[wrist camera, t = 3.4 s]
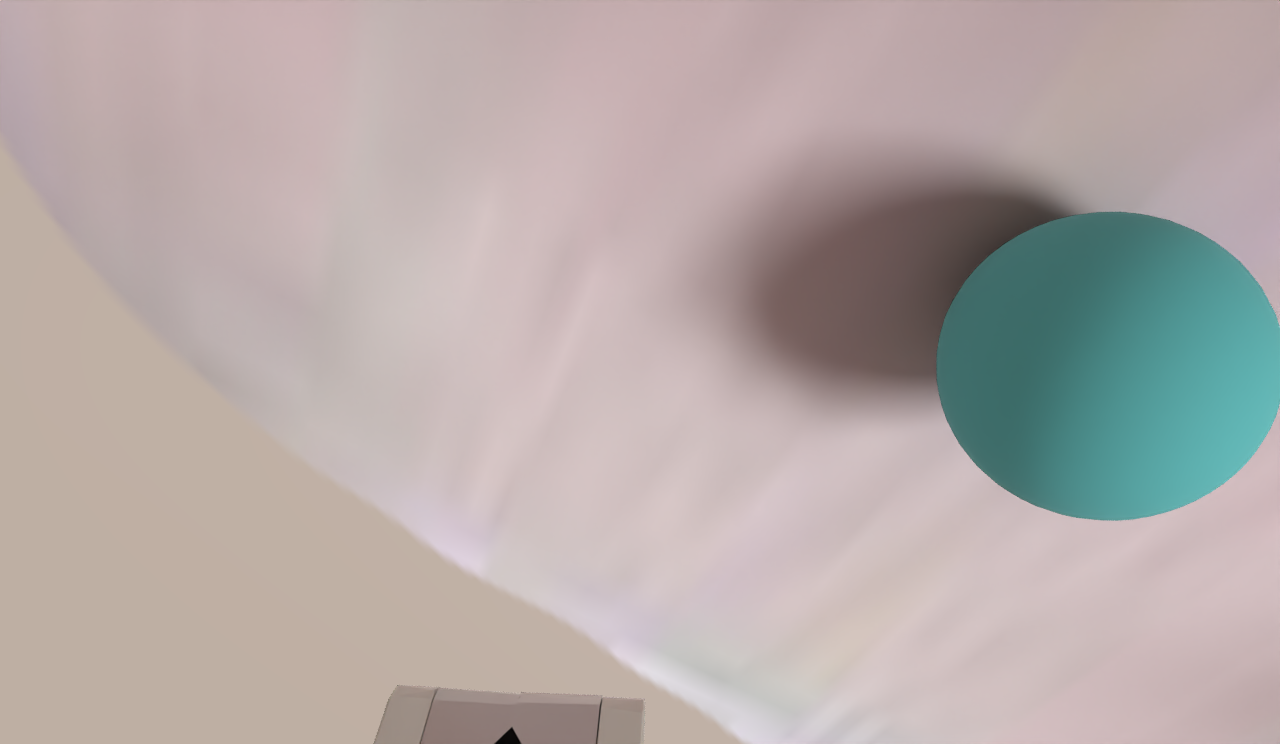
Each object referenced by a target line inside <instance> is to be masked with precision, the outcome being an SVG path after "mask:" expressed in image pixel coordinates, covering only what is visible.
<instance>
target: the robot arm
mask: <svg viewBox="0 0 1280 744" xmlns="http://www.w3.org/2000/svg"><path fill="white" fill-rule="evenodd" d="M644 722H645V699H641V698H614V697H603V698H602V696H598V695H575V694H550V693H524V692H521V693H507V692H492V691H477V690H462V689H448V688H440V687H425V686H405V685H397V687H396V688H395V690H394V691H393V693H392V694H391V696H390V697H389V699H388V702H387V705H386V708H385V711H384V714H383V717H382V720H381V723H380V726H379V729H378V732H377V735H376V738H375V741H374V744H644V724H645V723H644Z"/></svg>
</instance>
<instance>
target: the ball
mask: <svg viewBox="0 0 1280 744" xmlns="http://www.w3.org/2000/svg"><path fill="white" fill-rule="evenodd" d="M936 371H937V385H938V391H939V396H940V400H941V404H942V408H943V411H944V413H945V416H946V419H947V421H948V423H949V425H950V427H951V429H952V431H953V433H954V435H955V437H956V439H957V440H958V442H959V444H960V445H961V447H962V448H963V449H964V450H965V452H966V453H967V454H968V456H969V457H970V458H971V459H972V460H973V462H974V463H975V464H976V465H977V466H978V467H979V468H980V469H981V470H982V471H983V472H984V473H985V474H987V475H988V476H989V477H990V478H991V479H992V480H993V481H995V482H996V483H997V484H998V485H1000V486H1001V487H1003V488H1004V489H1006V490H1007V491H1009V492H1010V493H1012V494H1014V495H1015V496H1017V497H1019V498H1021V499H1022V500H1025V501H1027V502H1029V503H1031V504H1033V505H1035V506H1038V507H1041V508H1044V509H1047V510H1050V511H1053V512H1056V513H1059V514H1062V515H1066V516H1071V517H1076V518H1084V519H1094V520H1130V519H1138V518H1144V517H1149V516H1153V515H1157V514H1161V513H1165V512H1168V511H1171V510H1174V509H1177V508H1180V507H1182V506H1185V505H1187V504H1189V503H1191V502H1194V501H1196V500H1198V499H1199V498H1201V497H1203V496H1205V495H1207V494H1209V493H1210V492H1212V491H1213V490H1215V489H1216V488H1218V487H1219V486H1221V485H1222V484H1224V483H1225V482H1226V481H1227V480H1229V479H1230V478H1231V477H1232V476H1234V475H1235V474H1236V473H1237V472H1238V471H1239V470H1240V469H1241V468H1242V467H1243V466H1244V465H1245V464H1246V463H1247V462H1248V461H1249V459H1250V458H1251V457H1252V456H1253V455H1254V453H1255V452H1256V451H1257V449H1258V448H1259V446H1260V445H1261V443H1262V442H1263V440H1264V438H1265V437H1266V435H1267V434H1268V432H1269V430H1270V428H1271V426H1272V424H1273V422H1274V419H1275V417H1276V414H1277V411H1278V408H1279V404H1280V327H1279V324H1278V320H1277V317H1276V314H1275V312H1274V310H1273V308H1272V306H1271V304H1270V303H1269V301H1268V299H1267V297H1266V295H1265V293H1264V291H1263V289H1262V288H1261V286H1260V285H1259V284H1258V282H1257V281H1256V280H1255V279H1254V277H1253V276H1252V275H1251V274H1250V273H1249V271H1248V270H1247V269H1246V268H1245V267H1244V266H1243V265H1242V263H1241V262H1240V261H1238V260H1237V259H1236V258H1235V257H1234V256H1233V255H1231V254H1230V253H1229V252H1228V251H1227V250H1225V249H1224V248H1223V247H1221V246H1220V245H1218V244H1217V243H1216V242H1214V241H1212V240H1211V239H1209V238H1207V237H1206V236H1204V235H1202V234H1201V233H1199V232H1196V231H1194V230H1192V229H1190V228H1187V227H1185V226H1182V225H1180V224H1177V223H1175V222H1172V221H1170V220H1166V219H1161V218H1157V217H1153V216H1148V215H1143V214H1136V213H1127V212H1097V213H1088V214H1080V215H1073V216H1069V217H1065V218H1061V219H1057V220H1053V221H1050V222H1048V223H1045V224H1042V225H1039V226H1037V227H1034V228H1032V229H1030V230H1028V231H1026V232H1024V233H1022V234H1020V235H1018V236H1016V237H1015V238H1013V239H1012V240H1010V241H1008V242H1007V243H1005V244H1003V245H1002V246H1001V247H1000V248H998V249H997V250H996V251H994V252H993V253H992V254H990V255H989V256H988V257H987V258H986V259H985V260H984V261H983V262H982V263H981V264H980V265H979V266H978V267H977V268H976V269H975V270H974V271H973V272H972V274H971V275H970V276H969V277H968V278H967V279H966V281H965V282H964V284H963V285H962V287H961V288H960V290H959V292H958V293H957V295H956V296H955V298H954V299H953V301H952V304H951V306H950V308H949V310H948V312H947V314H946V317H945V320H944V323H943V326H942V329H941V333H940V337H939V342H938V348H937V364H936Z"/></svg>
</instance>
